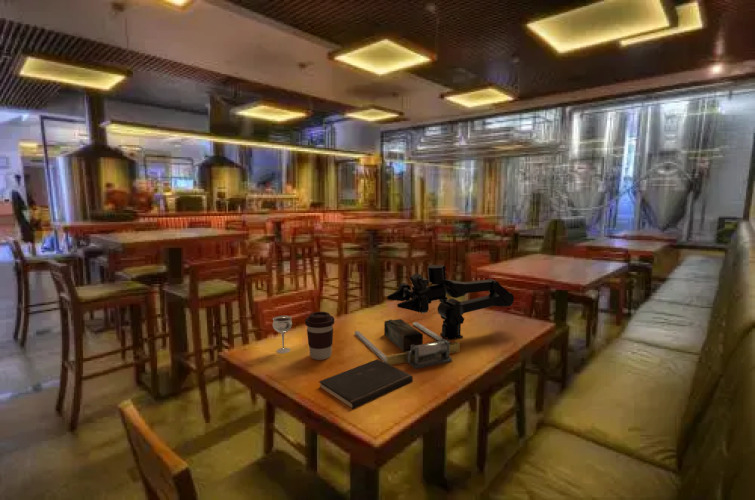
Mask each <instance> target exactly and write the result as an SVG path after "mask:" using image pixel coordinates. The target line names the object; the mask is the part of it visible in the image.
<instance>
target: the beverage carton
mask: <svg viewBox="0 0 755 500" xmlns="http://www.w3.org/2000/svg"><path fill="white" fill-rule="evenodd" d="M383 322H384V323H383V324H384V328H383V331H384V332H383V333H384V336H386V337H387V338H388V340H390V341H391V342H392V343H393V344H394V345H396V346H397V348H399V349H400V350H401V351H403V352H402V353H404V352H407V351H411V345H415V346H417V345H422V344H424V343H423V342H424V341H423V340H424V339H423V338H424V337H423V336H424V334H423V333H422V332H420V331H419V330H417V329H416V328H415V327H413V326H411V325H410V324H409V323H408V322H406V321H404V320H403V319H402V318H401V319H400V318H399V319H388V320H385V321H383Z"/></svg>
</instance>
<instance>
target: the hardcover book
mask: <svg viewBox="0 0 755 500" xmlns="http://www.w3.org/2000/svg"><path fill="white" fill-rule="evenodd" d="M413 381H414V380H413V375H412V374H410V373H407V372H405V371H404V370H401V369H399V368H397V367H395V366H394V365H389V364H387V363H385V362H383V361H382V360H381V359H379V358H378V359H374V360H372V361H369V362H366V363H363V364H361V365H358V366H356V367H353V368H350V369H348V370H345V371H343V372H340V373H338V374H335V375H331V376H329V377H327V378H324V379H322V380H319V381H318V383H319V386H320V388H321V389H323V390H324V391H325V392H327V393H328V394H331V395H332V396H333V397H335V398H336V399H338V400H339V401H341V402H342V403H344V404H345V405H347V406H348V407H350V409H351V408H352V410H354V409H356V408H358V407H361V406H362V405H364V404H367V403H369V402H371V401H373V400H375V399H377V398H380V397H382V396H384V395H386V394H388V393H390V392H392V391H395V390H396V389H398V388H402V387H403V386H406V385H408V384H411V383H412V382H413Z"/></svg>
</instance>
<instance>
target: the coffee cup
mask: <svg viewBox="0 0 755 500" xmlns="http://www.w3.org/2000/svg"><path fill="white" fill-rule="evenodd" d="M304 323H305V326H306V327H307V329H306V334H307V342H308V343H307V344H308V346H309V347H308V349H309V355H310V358H311V359H314V360H316V361H317V360H318V361H319V360H320V361H323V360H327V359H329V358H330V357H331V356H332V350H333V349H332V347H333V346H332V345H333V340H334V339H333V338H334V337H333V336H334V328H333V325H334V324H335V317H334V316H333V315H331V314H330V313H329V312H327V311H314V312H311V313H309V316H307V317H306V318H305V320H304Z"/></svg>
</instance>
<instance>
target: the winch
mask: <svg viewBox="0 0 755 500" xmlns="http://www.w3.org/2000/svg"><path fill="white" fill-rule="evenodd" d="M450 343H451V342H450V341H449V340H448V339H445V338H443V339H442V341H435V342H429V343H423V344H422V345H417V346H415V345H411V351H406V362H405V363H407V364H409V365H410V366H411V367H412V368H413V369H414V370H417V369H421V368H422V369H423V368H426V367H427V368H428V367H431V366H435V365H436V366H437V365H440V364H445V363H450V362H453V361H452V360H453V358H452V357H451V356H450V353H449V345H450Z"/></svg>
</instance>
